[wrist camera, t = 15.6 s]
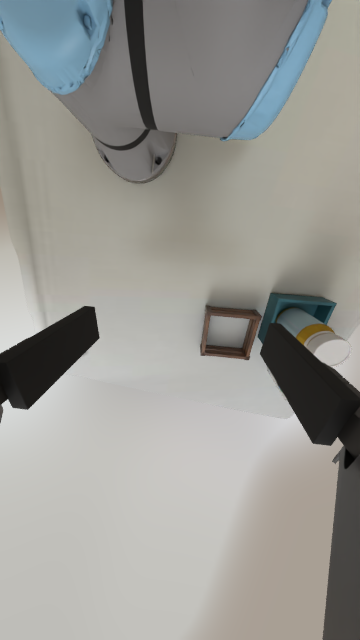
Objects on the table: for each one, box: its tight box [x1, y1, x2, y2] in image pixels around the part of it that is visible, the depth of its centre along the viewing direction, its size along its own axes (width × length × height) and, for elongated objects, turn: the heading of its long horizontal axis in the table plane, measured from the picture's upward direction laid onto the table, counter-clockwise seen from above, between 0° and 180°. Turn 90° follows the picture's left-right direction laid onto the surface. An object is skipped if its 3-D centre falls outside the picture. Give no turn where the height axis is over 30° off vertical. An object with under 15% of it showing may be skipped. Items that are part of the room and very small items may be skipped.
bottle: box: [276, 307, 352, 367], centre depth 37 cm, size 7×7×15 cm
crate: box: [200, 306, 262, 360], centre depth 45 cm, size 13×13×4 cm
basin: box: [258, 293, 337, 344], centre depth 42 cm, size 12×12×4 cm
